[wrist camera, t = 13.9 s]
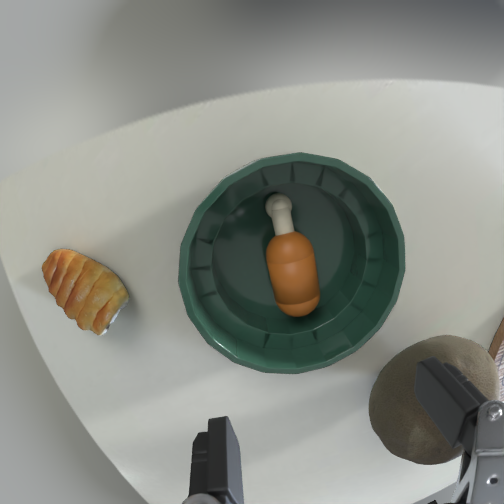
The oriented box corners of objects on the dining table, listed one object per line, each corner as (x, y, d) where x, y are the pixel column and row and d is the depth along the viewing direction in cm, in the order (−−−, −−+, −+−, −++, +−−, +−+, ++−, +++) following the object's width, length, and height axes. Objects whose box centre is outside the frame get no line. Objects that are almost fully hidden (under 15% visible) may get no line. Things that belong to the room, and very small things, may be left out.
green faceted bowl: (163, 296, 29) (147, 329, 23) (240, 123, 25) (242, 110, 19) (318, 355, 32) (335, 393, 26) (400, 210, 28) (437, 222, 22)
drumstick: (251, 197, 27) (255, 202, 23) (296, 187, 27) (308, 191, 23) (275, 309, 30) (282, 330, 26) (316, 299, 30) (328, 318, 26)
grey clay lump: (435, 391, 36) (488, 460, 21) (344, 413, 35) (383, 505, 20) (459, 302, 32) (541, 362, 17) (359, 318, 31) (430, 412, 17)
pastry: (41, 279, 28) (23, 292, 24) (65, 228, 27) (46, 237, 23) (109, 332, 30) (97, 351, 26) (139, 285, 29) (128, 302, 25)
